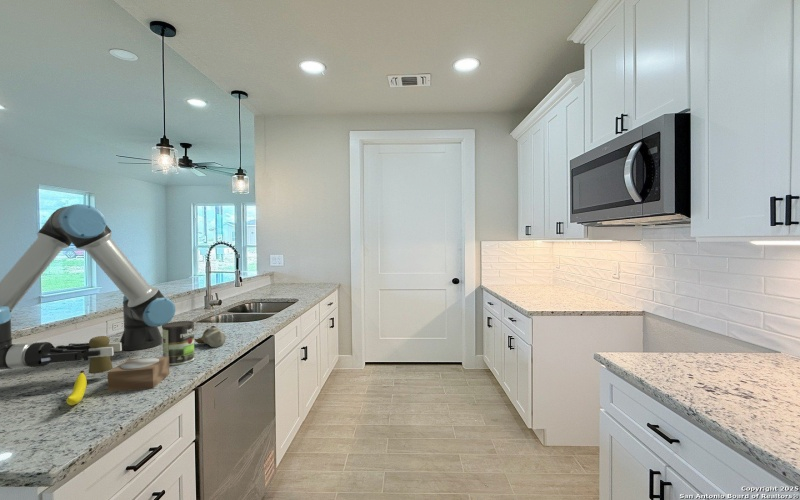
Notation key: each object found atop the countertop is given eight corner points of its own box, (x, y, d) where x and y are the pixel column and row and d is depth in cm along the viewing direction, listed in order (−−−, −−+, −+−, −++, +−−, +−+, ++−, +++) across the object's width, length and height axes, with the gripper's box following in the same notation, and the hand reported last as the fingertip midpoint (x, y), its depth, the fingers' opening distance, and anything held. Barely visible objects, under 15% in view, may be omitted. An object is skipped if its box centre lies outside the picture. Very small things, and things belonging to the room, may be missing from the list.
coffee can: (201, 357, 139) (200, 321, 139) (180, 366, 129) (179, 327, 129) (178, 355, 141) (177, 320, 141) (155, 364, 131) (154, 326, 131)
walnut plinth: (129, 377, 119) (128, 358, 119) (169, 373, 122) (169, 355, 122) (108, 391, 108) (107, 371, 107) (153, 388, 110) (152, 367, 110)
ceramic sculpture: (205, 329, 147) (192, 326, 157) (206, 350, 147) (193, 346, 157) (232, 325, 155) (217, 322, 165) (232, 345, 155) (218, 341, 165)
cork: (85, 374, 113) (84, 340, 113) (91, 368, 119) (90, 335, 118) (110, 371, 116) (108, 337, 116) (114, 365, 121) (113, 333, 121)
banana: (61, 418, 92) (60, 394, 91) (76, 392, 107) (75, 371, 107) (76, 415, 93) (75, 391, 93) (89, 390, 109) (88, 369, 109)
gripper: (52, 357, 122) (131, 352, 127) (9, 377, 105) (101, 369, 110) (51, 335, 121) (130, 331, 126) (8, 351, 105) (100, 345, 110)
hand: (116, 349), depth 118 cm, fingers closed on cork, 4 cm apart
